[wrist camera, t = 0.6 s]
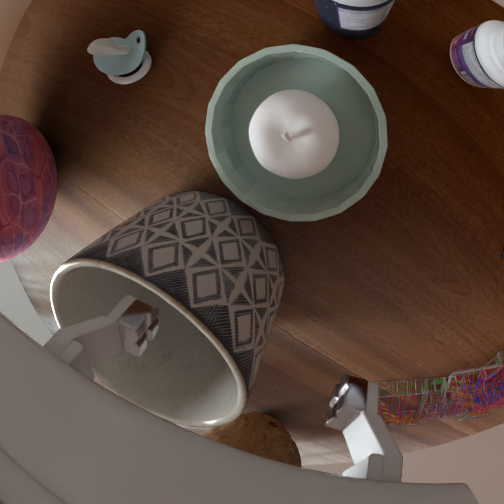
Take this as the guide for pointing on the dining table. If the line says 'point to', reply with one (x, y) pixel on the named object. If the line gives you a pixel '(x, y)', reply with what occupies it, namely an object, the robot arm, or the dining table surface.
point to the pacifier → (121, 56)
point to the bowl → (258, 437)
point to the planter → (182, 304)
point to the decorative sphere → (24, 185)
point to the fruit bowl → (339, 101)
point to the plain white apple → (294, 134)
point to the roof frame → (453, 392)
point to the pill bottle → (480, 55)
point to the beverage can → (353, 16)
